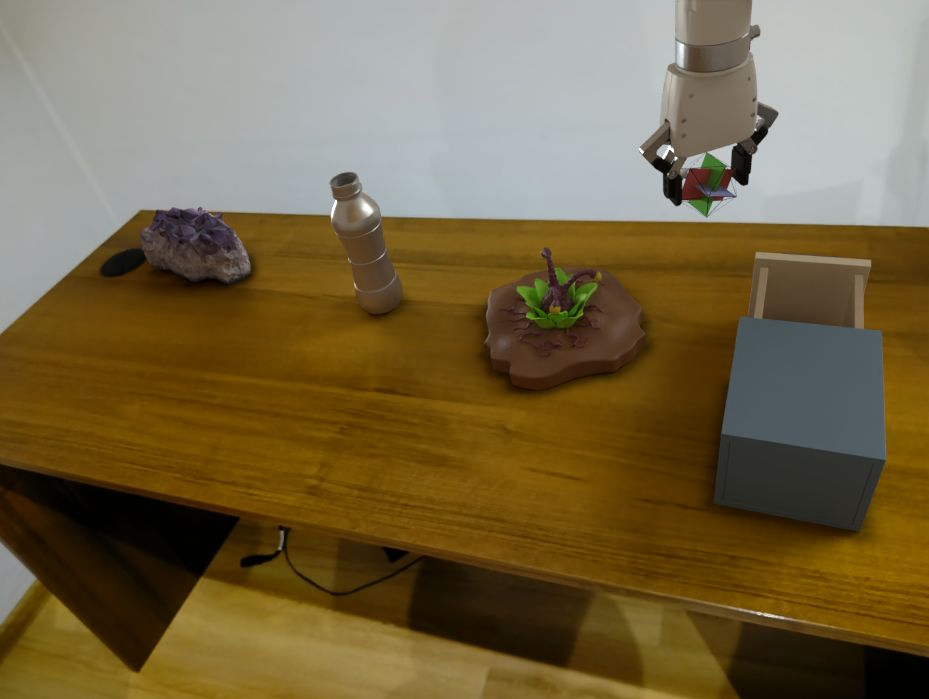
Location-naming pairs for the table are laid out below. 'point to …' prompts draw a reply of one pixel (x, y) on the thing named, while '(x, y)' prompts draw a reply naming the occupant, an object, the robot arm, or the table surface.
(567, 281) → the plant
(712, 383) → the table surface
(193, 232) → the geode
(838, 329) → the cabinet
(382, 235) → the plastic bottle
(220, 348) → the table surface
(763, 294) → the drawer
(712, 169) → the geometric puzzle
